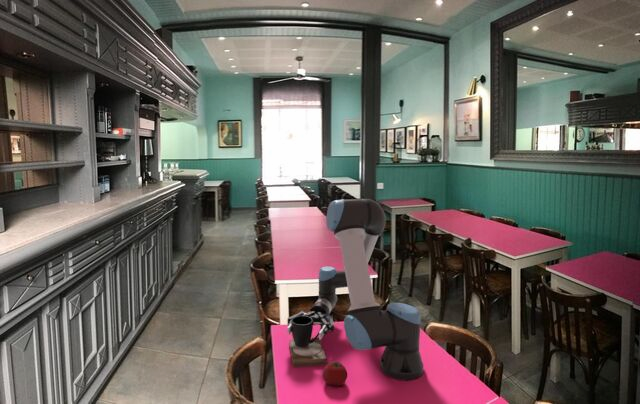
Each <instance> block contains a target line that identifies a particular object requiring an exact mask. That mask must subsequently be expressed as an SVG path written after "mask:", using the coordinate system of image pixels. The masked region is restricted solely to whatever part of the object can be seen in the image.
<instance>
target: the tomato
mask: <svg viewBox="0 0 640 404" xmlns="http://www.w3.org/2000/svg"><path fill="white" fill-rule="evenodd" d="M322 377H323V380H324V382H325V383H326V384H327V385H329V386H336V387H340V386H343V385H344V384H345V383H346V381H347V379H348V371H347V368H346V367H345V366H344V364H343V363H341V362H339V361H336V360H334V361H330V362H329V363H328V364H326V365H325V366H324V368H323V371H322Z"/></svg>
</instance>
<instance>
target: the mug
mask: <svg viewBox="0 0 640 404" xmlns="http://www.w3.org/2000/svg"><path fill="white" fill-rule="evenodd" d="M316 325H318V326H319V325H320V329H319V331H318V333H317V334H316V335H315V336H314V337H312V336H313V331H314V328H313V327H314V326H316ZM322 327H323V324H322V323H320V322H313V319H312V318H311V317H308V316H296V317H294V318H292V320H291V330H292V332H291V335H292V339H294V343H295V345H296V346H298V347H306V346H308V345H309V343H313V342H314V341H315V340H316V338H319V332H320V330H321V329H322ZM311 338H313V339H311Z"/></svg>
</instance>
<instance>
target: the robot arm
mask: <svg viewBox="0 0 640 404" xmlns="http://www.w3.org/2000/svg"><path fill="white" fill-rule="evenodd" d="M386 219H387V218H386V214H385V211H384V209H383V207H382V206H381V204H380V203H378V202H377V201H375V200H373V199H371V198H356V199H355V198H354V199H351V198H349V199H343V198H342V199H336V200H333V201H331V202H330V203H329V205H328V208H327V211H326V228H327V230H328V231H330V232H333V236H334V239H335V238H336V239H337V240H338V242H339V245H340V251H341V256H342V262H343V267H344V268H343V269H344V270H337V269H336V268H335V267H333V266H322V267H321V268H319V270H318V271H319V272H318V299H317V300H316V302H315V303H314V304H313V305H312V307H310V310H309V311H307V312H305V310H301V311H300V312H298V313H296V314H294V315H292V316H289V317H287V320H286V321H287V328H286V334H287V335H291V334H292V330H291V320H292V318H294V317H296V316H308V317H311V318H312V319H313V323H315V322H320V323H322V324H323V327H322V329H321V330H320V329H319V331H320V332H319V331H318V332H319V335H318V338H319V340H320V341H321V340H322V339H323V337H324V335H327V334H329V332H330V331H331V332H332V333H333V332H335V323H334V315H333V314H330V313H331V312H332V310H333V309H334V308H335V306H336V305H337V302H338V296H337V294H336V293H337V291H336V289H341V288H347V292H348V296H349V302H350V306H349V308H348V309H347V315H346V316H345V317H344V318H343V319H344V320H343V328H344V332H345V336H346V338H347V341H348V343H349V344H350V345H351V347H352V348H354V349H355V350H356V351H362V350H365V351H366V350H371V349H377V348H381V347H385V348H384V350H383V353H382V355H381V357H380V361H379V362H380V364H379V365H380V370H381V371H382V372H383V373H384V374H385V375H386V376H388V377H391V378H393V379H396V380H401V381H411V380H416V379H418V378H420V377H421V376H422V375H423V374H424V363H423V359H422V356H421V351H420V337H421V336H420V334H421V333H420V332H421V324H422V322H421V313H420V311H419V310H418V309H417V308H416V307H414V306H413V305H409V304H406V303H402V302H390V303H388V304H387V306H386V310H382V308H381V304H380V303H378V302H377V301H376V300H375V294H374V289H373V285H372V280H371V275H370V270H369V265H368V263H369V262H370V259H371V256H372V254H373V251H374V249H375V245H376V243H377V241H378V238H379V236H381V235H382V234H383V233H384V230H385V227H386V222H387V221H386Z"/></svg>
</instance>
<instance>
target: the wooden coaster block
mask: <svg viewBox="0 0 640 404" xmlns="http://www.w3.org/2000/svg"><path fill="white" fill-rule="evenodd" d="M313 338H314V337H311V339H313ZM289 350H290V356H291V361H292V367H293V368H304V367H316V366H324V365H325V366H326V365H327V356H326V354H325V351H324V348H323V346H322V341H321V340H319V337H317V338H316V340H315V341H314V342H313V343H309V345H308V346H306V347H298V346H296V345H295V343H294V339H293V338H292V339H289Z"/></svg>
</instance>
